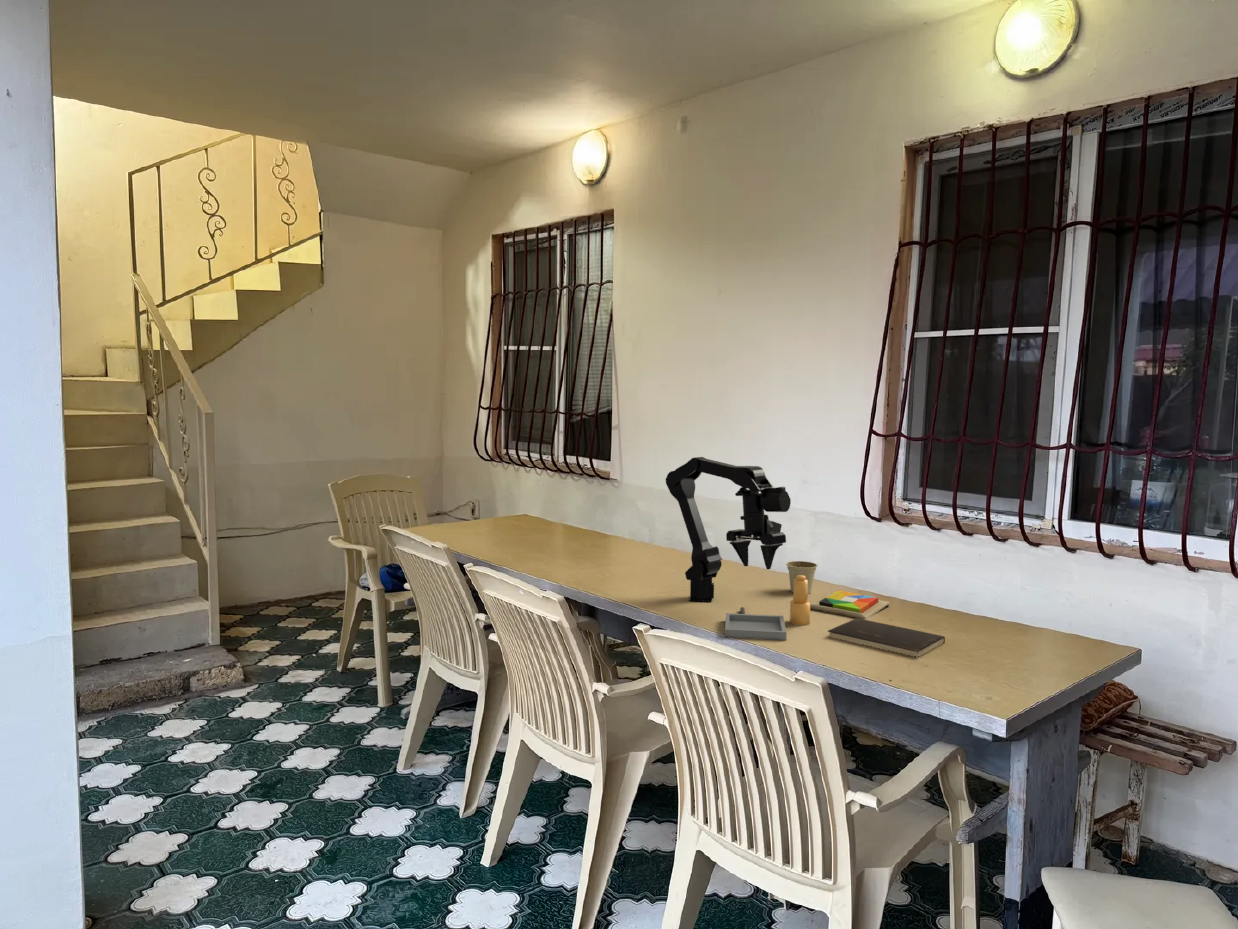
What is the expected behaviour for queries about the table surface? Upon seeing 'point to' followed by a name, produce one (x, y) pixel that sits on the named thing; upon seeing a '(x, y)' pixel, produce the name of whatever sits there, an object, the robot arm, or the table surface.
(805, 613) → the orange rounded stepped post
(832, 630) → the hardcover book
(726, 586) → the table surface
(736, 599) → the table surface
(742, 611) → the rod
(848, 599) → the wooden puzzle
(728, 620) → the grey square tray
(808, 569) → the flower pot
